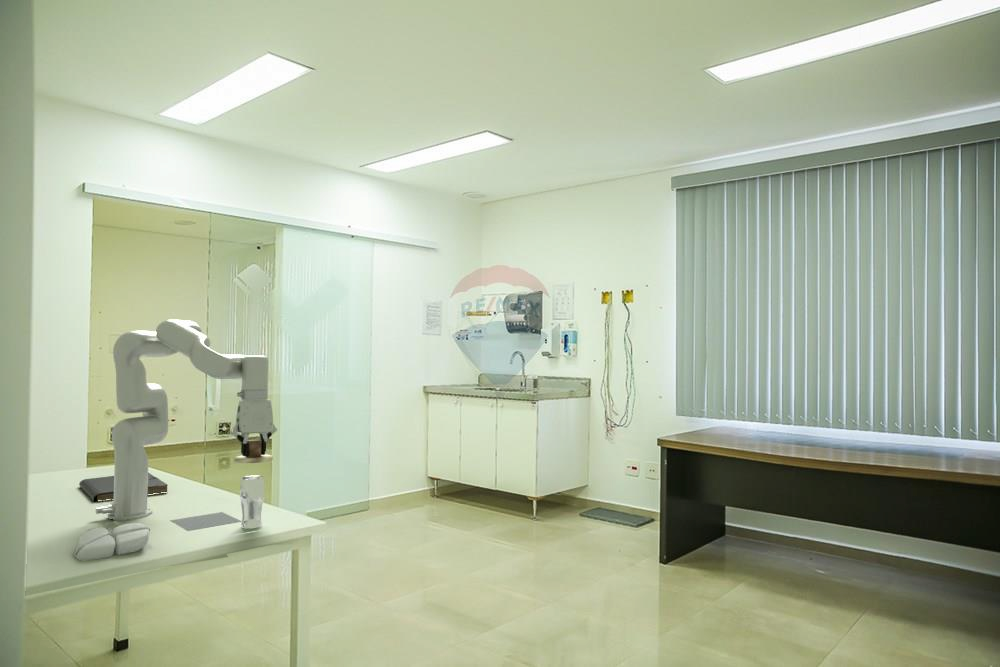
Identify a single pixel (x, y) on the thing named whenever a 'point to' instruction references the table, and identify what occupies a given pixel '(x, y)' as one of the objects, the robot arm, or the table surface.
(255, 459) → the lid
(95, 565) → the table surface
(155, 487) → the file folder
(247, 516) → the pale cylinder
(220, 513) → the mat
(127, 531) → the lung model
